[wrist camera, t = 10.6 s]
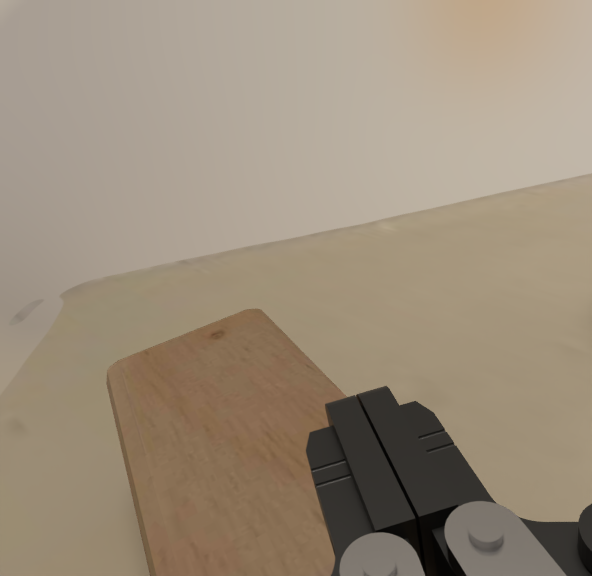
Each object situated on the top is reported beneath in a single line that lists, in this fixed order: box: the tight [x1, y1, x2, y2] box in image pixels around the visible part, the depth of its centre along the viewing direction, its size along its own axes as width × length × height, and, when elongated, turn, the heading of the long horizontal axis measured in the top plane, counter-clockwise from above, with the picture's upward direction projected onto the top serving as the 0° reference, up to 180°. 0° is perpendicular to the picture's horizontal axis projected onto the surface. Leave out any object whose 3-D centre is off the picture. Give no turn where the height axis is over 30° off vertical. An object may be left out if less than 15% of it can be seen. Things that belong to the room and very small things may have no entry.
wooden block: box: [107, 309, 347, 576], centre depth 25 cm, size 10×10×20 cm
